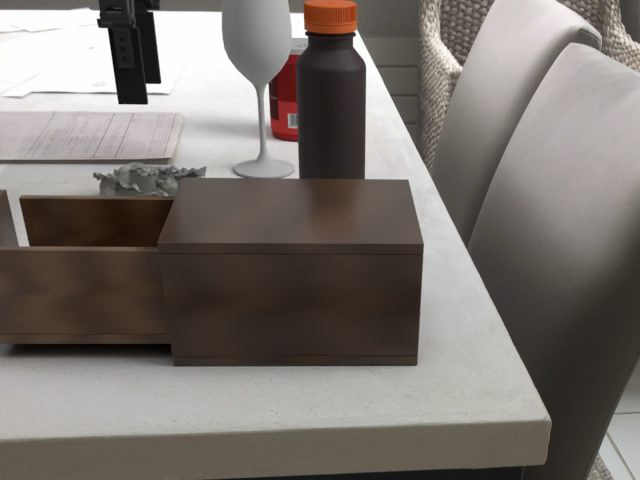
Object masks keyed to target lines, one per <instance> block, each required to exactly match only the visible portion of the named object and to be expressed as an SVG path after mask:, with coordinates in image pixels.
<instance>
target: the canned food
mask: <svg viewBox="0 0 640 480" xmlns="http://www.w3.org/2000/svg"><path fill="white" fill-rule="evenodd" d="M307 47H308V37H292V42H291V51H290V54H289V57H288V60H287V61H286V63H285V65H284V66H283V68H282V69H281V70H280V71H279V72H278V74H277V75H276V76H275V77H274V78H273V79H272V80H271V81H270V82H269V83H268V84H267V86H268V101H269V121H270V129H271V132H272V135H273V136H274V137H275V138H277V139H279V140H284V141H289V142H298V126H297V95H296V61H297V59H298V58H299V57H300V55H301V54H302V53H303V52H304V50H305V49H306V48H307Z"/></svg>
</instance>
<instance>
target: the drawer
mask: <svg viewBox="0 0 640 480" xmlns="http://www.w3.org/2000/svg"><path fill="white" fill-rule="evenodd" d="M175 198H176V196H100V195H77V194H75V195H72V194H71V195H69V194H68V195H64V194H63V195H60V194H21V195H20V196H19V197H18V200H19V205H20V210H21V215H22V219H23V223H24V229H25V233H26V238H27V242H28V246H26V245H25V246H22V245H21V246H20V244H19V239H18V236H17V235H18V234H17V231H16V227H15V223H14V222H15V221H14V218H13V213H12V209H11V204H10V200H9V196H8V191H7V189H0V345H9V344H10V345H17V344H18V345H51V344H52V345H55V344H56V345H60V344H61V345H67V344H68V345H69V344H70V345H72V344H73V345H77V344H78V345H80V344H81V345H82V344H83V345H84V344H85V345H86V344H88V345H89V344H90V345H91V344H92V345H93V344H96V345H98V344H99V345H100V344H102V345H103V344H108V345H109V344H111V345H113V344H116V345H117V344H119V345H120V344H125V345H127V344H132V345H133V344H137V345H139V344H141V345H142V344H144V345H147V344H149V345H150V344H157V345H158V344H159V345H160V344H168V345H169V344H170V345H171V342H170V334H169V327H168V319H167V311H166V304H165V296H164V289H163V281H162V273H161V266H160V258H159V251H158V244H157V242H158V240H159V237H160V235H161V232H162V230H163V228H164V225H165V223H166V220H167V218H168V215H169V213H170V210H171V208H172V205H173V203H174V200H175Z"/></svg>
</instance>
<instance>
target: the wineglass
mask: <svg viewBox="0 0 640 480" xmlns="http://www.w3.org/2000/svg"><path fill="white" fill-rule="evenodd" d="M291 19H292V17H291V11H290V4H289V0H222V2H221V35H222V37H221V38H222V43H223V49H224V51H225V54H226V56H227V58H228V60H229V61H230V62H231V64H232V65H233V66H234V68H235V69H236V70H237V71H238V72H239V73H240V74H241V75H242V76H243V77H244V78H245V79H246V80H247V81H248V82H249V83H250V84H252V86H253V88H254V89H255V93H256V98H257V113H258V132H259V133H258V134H259V153H258V156H257V157H256V159H249V160H245V161H241V162H239V163H237V164H236V165H235V166H234V168H233V171H234V173H235V174H236V175H238V176H240V177H242V178H286V177H288V176H290V175H292V174H293V173H295V165H294V164H292V163H290V162H288V161H284V160H281V159H273V158H271V156H270V154H269V152H268V148H267V134H266V133H267V132H266V113H265V92H266V91H265V90H266V88H267V86H268V83H269V82H270V81H271V80H272V79H273V78H274V77H275V76H276V75H277V74H278V72H279V71H280V70H281V69H282V68H283V66H284V65H285V63H286V61H287V60H288V57H289V54H290V51H291V42H292V38H293V33H292V31H293V30H292V29H293V28H292V20H291Z"/></svg>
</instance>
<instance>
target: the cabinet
mask: <svg viewBox="0 0 640 480" xmlns="http://www.w3.org/2000/svg"><path fill="white" fill-rule="evenodd" d="M411 189H412V188H411V184H410V180H409V179H405V178H404V179H402V178H401V179H394V178H393V179H391V178H389V179H388V178H387V179H386V178H365V179H299V178H295V177H294V178H289V177H288V178H286V177H281V178H247V177H205V178H204V177H202V178H185V177H184V178H183V180H182V183H181V185H180V188H179V190H178V193H177V195H176V198H175V200H174V203H173V205H172V208H171V210H170V213H169V215H168V218H167V220H166V223H165V225H164V228H163V230H162V232H161V235H160V237H159V240H158V242H157V244H158V251H159V258H160V266H161V273H162V281H163V289H164V296H165V304H166V311H167V319H168V327H169V334H170V342H171V344H170V349H171V356H172V364H173V366H176V367H177V366H178V367H180V366H181V367H183V366H184V367H186V366H188V367H193V366H195V367H196V366H201V367H202V366H204V367H206V366H209V367H210V366H211V367H213V366H219V367H220V366H417V365H418V362H419V346H420V345H419V343H420V327H421V326H420V325H421V324H420V323H421V309H422V307H421V306H422V288H423V272H424V271H423V270H424V254H425V253H424V252H425V250H424V249H425V242H424V239H423V234H422V231H421V225H420V221H419V218H418V213H417V209H416V205H415V201H414V197H413V193H412V190H411Z"/></svg>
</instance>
